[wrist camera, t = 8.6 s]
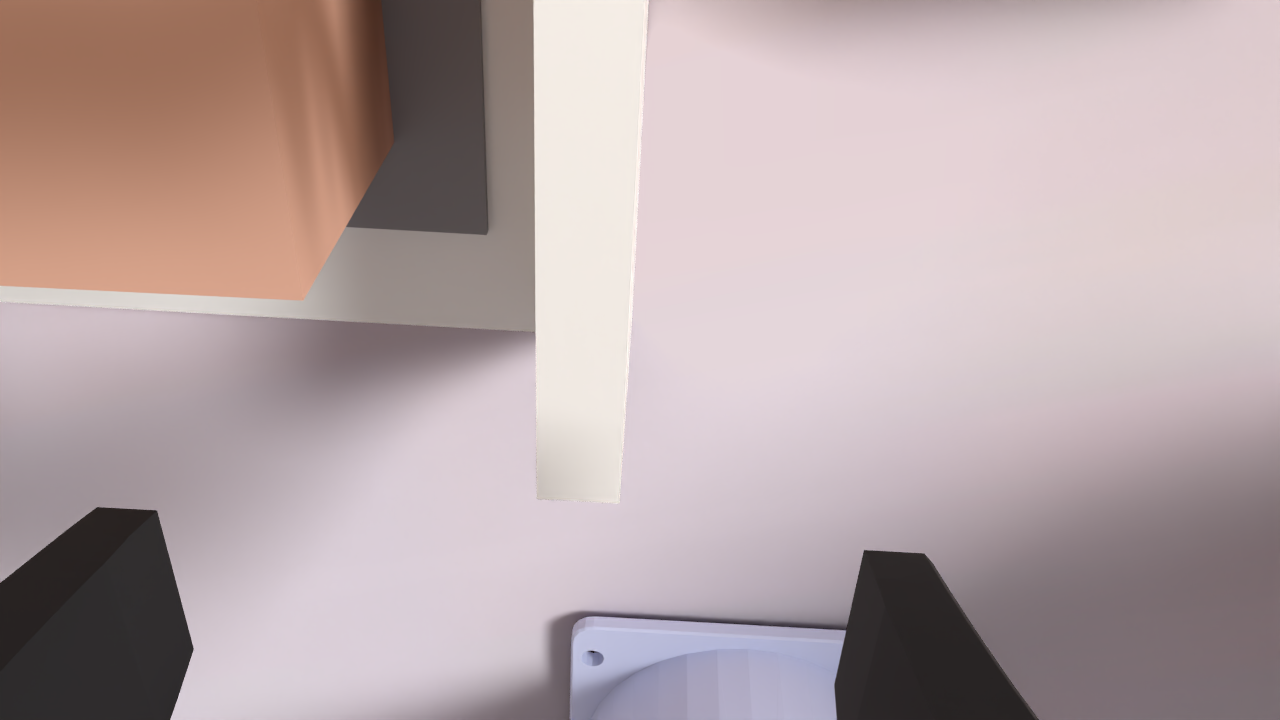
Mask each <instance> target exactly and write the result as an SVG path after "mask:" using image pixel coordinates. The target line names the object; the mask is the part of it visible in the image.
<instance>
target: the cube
mask: <svg viewBox="0 0 1280 720" xmlns="http://www.w3.org/2000/svg"><path fill="white" fill-rule="evenodd" d="M393 144H394V134H393V123H392V112H391V101H390V90H389V79H388V68H387V58H386V47H385V36H384V25H383V14H382V3H381V0H0V286H15V287H35V288H56V289H76V290H97V291H117V292H137V293H158V294H178V295H198V296H219V297H239V298H259V299H280V300H300V301H303V300H304V298H305V297H306V295H307V293H308V291H309V290H310V288H311V286H312V285H313V283H314V281H315V279H316V278H317V276H318V274H319V272H320V271H321V269H322V267H323V265H324V264H325V262H326V260H327V259H328V257H329V255H330V253H331V252H332V250H333V248H334V246H335V245H336V243H337V241H338V239H339V238H340V236H341V234H342V232H343V231H344V229H345V227H346V226H347V224H348V222H349V220H350V219H351V217H352V215H353V213H354V212H355V210H356V208H357V206H358V205H359V203H360V201H361V200H362V198H363V196H364V194H365V193H366V191H367V189H368V187H369V186H370V184H371V182H372V180H373V179H374V177H375V175H376V173H377V172H378V170H379V168H380V167H381V165H382V163H383V161H384V160H385V158H386V156H387V154H388V153H389V151H390V149H391V147H392V146H393Z"/></svg>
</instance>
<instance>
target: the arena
mask: <svg viewBox="0 0 1280 720" xmlns="http://www.w3.org/2000/svg"><path fill="white" fill-rule="evenodd" d="M381 3H382V14H383V25H384V36H385V47H386V58H387V68H388V79H389V90H390V101H391V112H392V123H393V134H394V144H393V146H392V147H391V149H390V151H389V153H388V154H387V156H386V158H385V160H384V161H383V163H382V165H381V167H380V168H379V170H378V172H377V173H376V175H375V177H374V179H373V180H372V182H371V184H370V186H369V187H368V189H367V191H366V193H365V194H364V196H363V198H362V200H361V201H360V203H359V205H358V206H357V208H356V210H355V212H354V213H353V215H352V217H351V219H350V220H349V222H348V224H347V226H346V227H345V229H344V231H343V232H342V234H341V236H340V238H339V239H338V241H337V243H336V245H335V246H334V248H333V250H332V252H331V253H330V255H329V257H328V259H327V260H326V262H325V264H324V265H323V267H322V269H321V271H320V272H319V274H318V276H317V278H316V279H315V281H314V283H313V285H312V286H311V288H310V290H309V291H308V293H307V295H306V297H305V298H304V300H303V301H300V300H280V299H259V298H239V297H219V296H198V295H178V294H158V293H137V292H117V291H97V290H76V289H56V288H35V287H15V286H0V302H11V303H28V304H46V305H64V306H81V307H99V308H116V309H134V310H152V311H169V312H187V313H205V314H222V315H240V316H258V317H275V318H293V319H310V320H328V321H346V322H363V323H381V324H399V325H416V326H434V327H452V328H469V329H487V330H504V331H522V332H536V478H537V499H545V500H563V501H581V502H599V503H616V504H619V503H620V488H621V473H622V459H623V444H624V429H625V415H626V400H627V385H628V371H629V356H630V341H631V327H632V312H633V294H634V274H635V255H636V236H637V217H638V198H639V178H640V159H641V140H642V121H643V102H644V82H645V63H646V44H647V25H648V6H649V0H381Z"/></svg>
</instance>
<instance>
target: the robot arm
mask: <svg viewBox="0 0 1280 720" xmlns="http://www.w3.org/2000/svg"><path fill="white" fill-rule="evenodd" d="M193 650H194V649H193V645H192V641H191V637H190V633H189V630H188V626H187V622H186V618H185V615H184V611H183V607H182V603H181V600H180V596H179V592H178V588H177V585H176V581H175V577H174V573H173V570H172V566H171V562H170V558H169V554H168V551H167V547H166V543H165V539H164V536H163V532H162V528H161V524H160V521H159V517H158V513H157V511H155V510H137V509H119V508H101V507H97V508H96V509H94V510H93V511H92V512H90V513H89V514H88V515H86V516H85V517H84V518H82V519H81V520H80V521H78V522H77V523H76V524H74V525H73V526H72V527H70V528H69V529H68V530H67V531H65V532H64V533H63V534H61V535H60V536H59V537H58V538H56V539H55V540H54V541H53V542H51V543H50V544H49V545H48V546H46V547H45V548H44V549H42V550H41V551H40V552H39V553H37V554H36V555H35V556H34V557H32V558H31V559H30V560H29V561H27V562H26V563H25V564H24V565H22V566H21V567H20V568H19V569H17V570H16V571H15V572H14V573H12V574H11V575H10V576H9V577H7V578H6V579H5V580H4V581H2V582H1V583H0V720H170V718H171V716H172V713H173V710H174V707H175V704H176V702H177V699H178V696H179V693H180V689H181V686H182V683H183V680H184V677H185V674H186V671H187V668H188V665H189V662H190V659H191V656H192V653H193ZM592 650H593V651H597V652H596V653H592V652H588V651H592ZM570 720H1039V719H1038V718H1037V717H1036V715H1035V714H1034V713H1033V711H1032V710H1031V709H1030V707H1029V706H1028V704H1027V703H1026V702H1025V700H1024V699H1023V698H1022V696H1021V695H1020V694H1019V692H1018V691H1017V690H1016V688H1015V687H1014V685H1013V684H1012V682H1011V681H1010V680H1009V678H1008V677H1007V675H1006V674H1005V672H1004V671H1003V670H1002V668H1001V667H1000V665H999V664H998V662H997V661H996V659H995V658H994V657H993V655H992V654H991V652H990V651H989V649H988V648H987V646H986V645H985V643H984V642H983V640H982V639H981V637H980V636H979V634H978V633H977V631H976V630H975V628H974V627H973V625H972V624H971V622H970V621H969V619H968V618H967V616H966V615H965V613H964V612H963V610H962V609H961V607H960V606H959V604H958V602H957V601H956V599H955V598H954V596H953V595H952V593H951V592H950V590H949V588H948V587H947V585H946V584H945V582H944V581H943V579H942V577H941V576H940V574H939V573H938V571H937V570H936V568H935V566H934V565H933V563H932V562H931V561H930V560H929V559H928V557H927V556H926V555H925V554H922V553H904V552H887V551H869V550H864V553H863V557H862V562H861V566H860V571H859V575H858V580H857V584H856V589H855V593H854V598H853V602H852V607H851V611H850V616H849V620H848V625H847V629H846V630H829V629H812V628H794V627H776V626H758V625H740V624H722V623H705V622H687V621H669V620H651V619H633V618H615V617H598V616H593V617H585V618H583V619H580V620H578V621H577V622H576V623H575V624H574V626H573V630H572V637H571V673H570Z"/></svg>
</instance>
